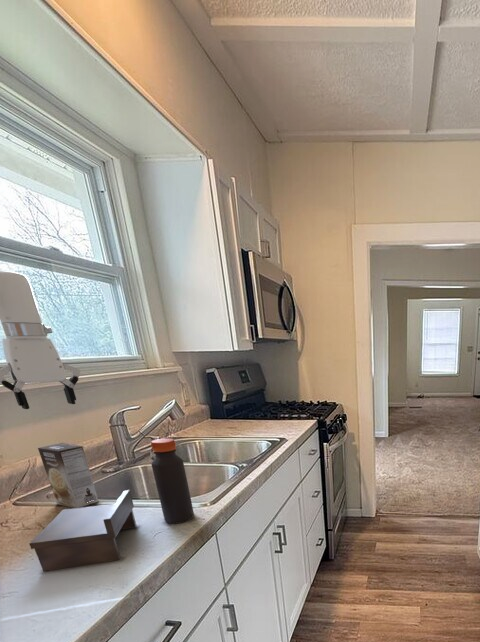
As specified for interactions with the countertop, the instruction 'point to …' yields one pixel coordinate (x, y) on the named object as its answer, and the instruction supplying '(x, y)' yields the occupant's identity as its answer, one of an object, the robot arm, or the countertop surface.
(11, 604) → the countertop surface
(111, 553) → the shelf
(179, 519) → the bottle
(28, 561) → the countertop surface
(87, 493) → the coffee box
